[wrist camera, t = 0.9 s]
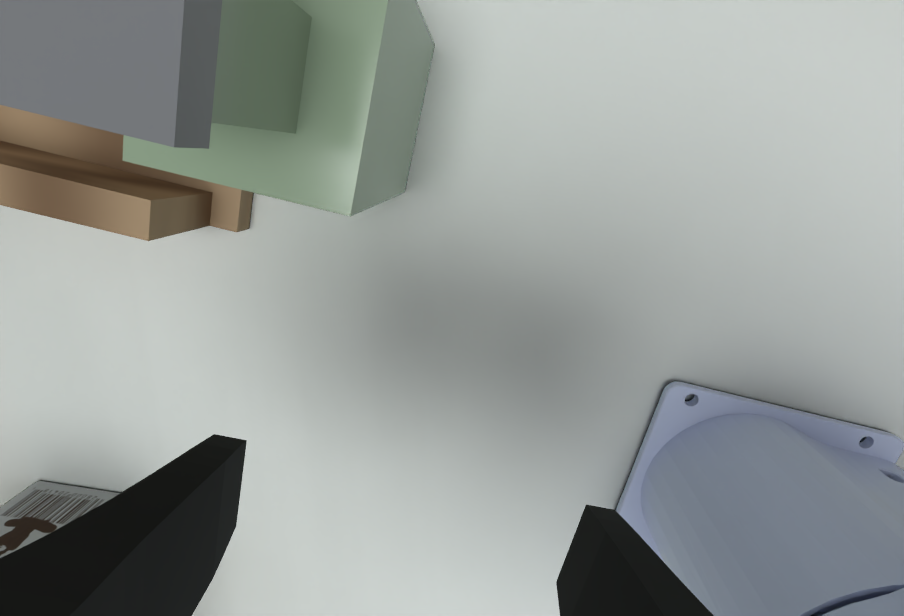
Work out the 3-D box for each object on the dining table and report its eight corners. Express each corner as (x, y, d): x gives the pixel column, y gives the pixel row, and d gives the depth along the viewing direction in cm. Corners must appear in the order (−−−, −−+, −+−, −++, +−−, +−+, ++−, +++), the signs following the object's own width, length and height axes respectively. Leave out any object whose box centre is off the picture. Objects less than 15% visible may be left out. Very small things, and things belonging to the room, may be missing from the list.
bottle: (434, 44, 17) (315, -241, 5) (404, 192, 19) (254, 258, 6) (290, 8, 17) (-199, -372, 5) (271, 159, 19) (-142, 162, 6)
